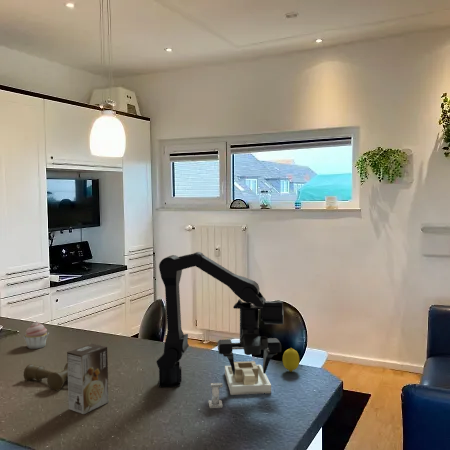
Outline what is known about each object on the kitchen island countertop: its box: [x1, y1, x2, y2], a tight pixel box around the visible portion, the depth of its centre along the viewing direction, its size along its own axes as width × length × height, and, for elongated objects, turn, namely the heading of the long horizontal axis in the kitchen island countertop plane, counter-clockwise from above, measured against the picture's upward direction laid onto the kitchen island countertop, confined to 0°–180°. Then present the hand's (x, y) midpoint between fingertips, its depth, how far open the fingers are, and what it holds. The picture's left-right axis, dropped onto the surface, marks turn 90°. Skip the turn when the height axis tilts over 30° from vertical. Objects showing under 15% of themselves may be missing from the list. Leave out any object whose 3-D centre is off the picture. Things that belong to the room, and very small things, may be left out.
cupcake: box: [23, 321, 50, 350], centre depth 183 cm, size 9×9×10 cm
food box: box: [66, 343, 109, 415], centre depth 130 cm, size 9×6×16 cm
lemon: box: [282, 347, 300, 373], centre depth 156 cm, size 6×6×8 cm
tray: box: [224, 364, 272, 396], centre depth 147 cm, size 17×12×2 cm
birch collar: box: [234, 360, 258, 385], centre depth 147 cm, size 12×7×4 cm, turn 6°
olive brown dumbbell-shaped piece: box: [23, 363, 68, 391], centre depth 147 cm, size 6×10×20 cm
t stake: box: [208, 382, 224, 409], centre depth 131 cm, size 4×4×6 cm
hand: (249, 373), depth 142 cm, fingers open, 9 cm apart
